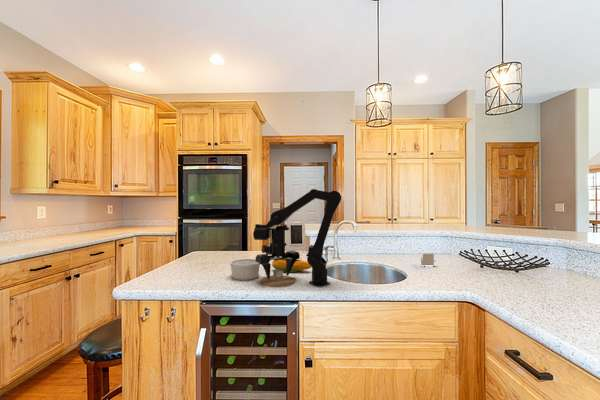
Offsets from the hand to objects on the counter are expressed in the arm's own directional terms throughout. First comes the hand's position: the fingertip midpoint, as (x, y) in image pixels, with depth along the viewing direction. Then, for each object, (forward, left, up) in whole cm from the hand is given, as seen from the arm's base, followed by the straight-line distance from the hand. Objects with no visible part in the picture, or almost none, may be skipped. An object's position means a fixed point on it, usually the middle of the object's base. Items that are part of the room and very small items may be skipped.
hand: (278, 277), depth 114 cm
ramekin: (+14, +9, -2) cm, 17 cm away
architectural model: (-21, -78, -2) cm, 81 cm away
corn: (+11, -14, -2) cm, 17 cm away
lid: (0, 0, -2) cm, 2 cm away
